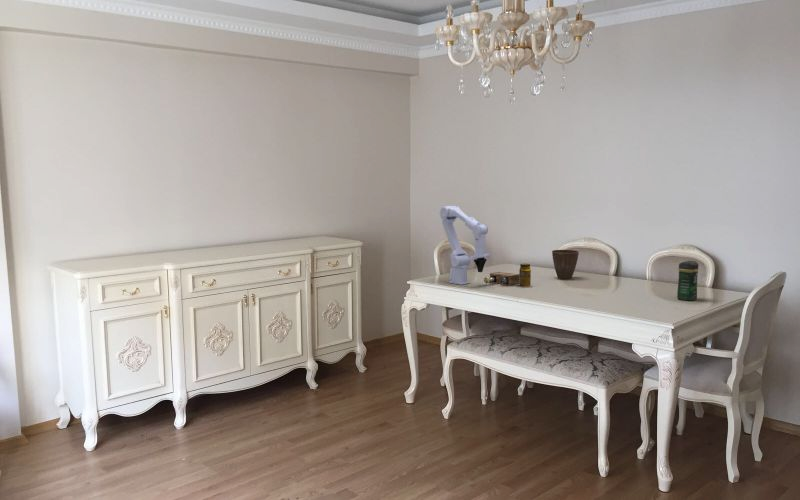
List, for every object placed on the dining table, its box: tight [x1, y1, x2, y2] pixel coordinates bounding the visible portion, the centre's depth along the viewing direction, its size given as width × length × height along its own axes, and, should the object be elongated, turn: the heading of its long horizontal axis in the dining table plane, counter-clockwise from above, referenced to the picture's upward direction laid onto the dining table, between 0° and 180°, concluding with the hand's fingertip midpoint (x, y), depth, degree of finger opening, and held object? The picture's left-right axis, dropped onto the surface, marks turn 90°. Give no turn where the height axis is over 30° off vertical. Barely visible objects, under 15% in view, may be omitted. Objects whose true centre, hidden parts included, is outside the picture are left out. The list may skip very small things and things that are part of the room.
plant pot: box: [551, 249, 580, 281], centre depth 383 cm, size 15×15×16 cm
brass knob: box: [483, 276, 496, 284], centre depth 367 cm, size 3×9×3 cm, turn 134°
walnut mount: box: [489, 271, 519, 287], centre depth 368 cm, size 14×8×6 cm, turn 44°
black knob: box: [501, 278, 508, 284], centre depth 364 cm, size 3×9×3 cm, turn 134°
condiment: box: [512, 263, 533, 289], centre depth 360 cm, size 7×8×12 cm
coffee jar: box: [676, 260, 699, 302], centre depth 318 cm, size 10×8×19 cm
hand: (480, 272), depth 359 cm, fingers closed
